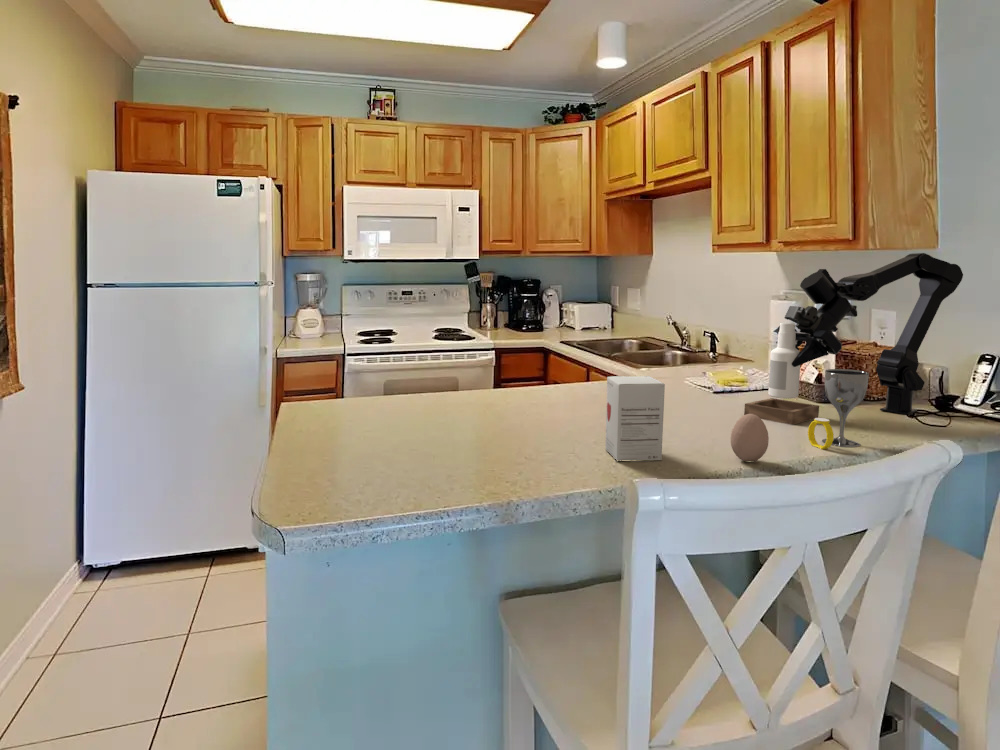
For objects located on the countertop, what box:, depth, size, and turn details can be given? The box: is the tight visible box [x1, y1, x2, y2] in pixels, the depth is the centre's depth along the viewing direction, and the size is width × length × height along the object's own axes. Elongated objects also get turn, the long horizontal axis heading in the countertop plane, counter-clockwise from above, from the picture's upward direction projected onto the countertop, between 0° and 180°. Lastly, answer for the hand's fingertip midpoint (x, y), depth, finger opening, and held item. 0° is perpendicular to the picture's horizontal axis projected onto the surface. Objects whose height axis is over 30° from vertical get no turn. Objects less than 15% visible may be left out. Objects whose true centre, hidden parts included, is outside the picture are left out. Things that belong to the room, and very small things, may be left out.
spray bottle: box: [767, 322, 801, 400], centre depth 158 cm, size 7×7×18 cm
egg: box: [730, 414, 770, 462], centre depth 120 cm, size 7×7×9 cm
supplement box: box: [605, 375, 666, 461], centre depth 124 cm, size 9×9×15 cm
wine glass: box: [821, 368, 870, 448], centre depth 134 cm, size 8×8×15 cm
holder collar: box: [743, 397, 820, 425], centre depth 160 cm, size 12×12×3 cm
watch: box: [807, 417, 835, 450], centre depth 131 cm, size 6×3×6 cm, turn 12°
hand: (783, 363), depth 158 cm, fingers closed on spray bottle, 7 cm apart
